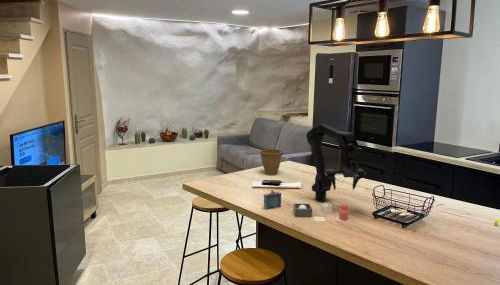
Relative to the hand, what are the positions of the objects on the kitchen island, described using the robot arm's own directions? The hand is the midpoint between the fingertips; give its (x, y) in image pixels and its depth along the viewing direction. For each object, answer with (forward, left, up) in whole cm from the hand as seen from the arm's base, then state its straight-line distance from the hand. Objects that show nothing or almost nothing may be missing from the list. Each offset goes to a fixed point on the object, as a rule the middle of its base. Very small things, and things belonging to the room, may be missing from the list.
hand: (344, 189), depth 183 cm
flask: (-4, -35, -12) cm, 37 cm away
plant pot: (-72, -31, -12) cm, 79 cm away
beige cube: (+3, -9, -11) cm, 14 cm away
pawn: (+11, -3, -10) cm, 16 cm away
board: (+7, -13, -12) cm, 19 cm away
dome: (+5, -21, -11) cm, 24 cm away
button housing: (+5, -21, -11) cm, 24 cm away
